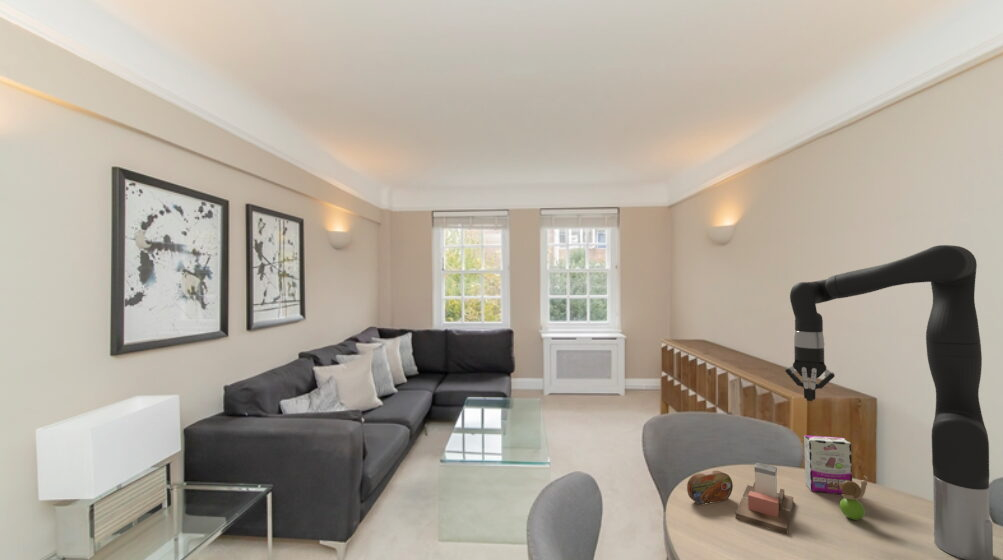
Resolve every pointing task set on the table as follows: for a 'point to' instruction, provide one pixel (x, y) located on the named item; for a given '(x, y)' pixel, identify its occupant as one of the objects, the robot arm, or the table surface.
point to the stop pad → (763, 504)
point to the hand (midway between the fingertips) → (809, 400)
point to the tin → (709, 487)
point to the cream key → (766, 479)
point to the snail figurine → (853, 499)
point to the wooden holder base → (764, 519)
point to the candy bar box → (827, 463)
